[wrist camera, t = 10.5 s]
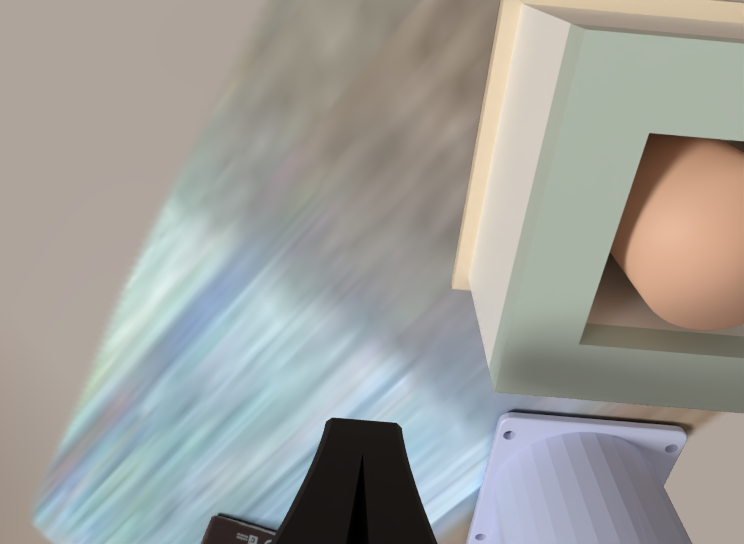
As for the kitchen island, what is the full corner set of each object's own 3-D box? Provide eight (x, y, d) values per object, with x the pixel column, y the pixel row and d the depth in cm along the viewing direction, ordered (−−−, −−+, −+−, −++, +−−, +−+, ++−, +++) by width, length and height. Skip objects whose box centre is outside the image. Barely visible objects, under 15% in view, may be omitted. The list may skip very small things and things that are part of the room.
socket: (716, 304, 21) (835, 434, 15) (451, 281, 21) (472, 404, 15) (852, 12, 16) (1105, 46, 10) (504, -19, 16) (565, -3, 10)
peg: (672, 230, 19) (778, 336, 14) (555, 221, 19) (617, 323, 14) (717, 111, 17) (861, 182, 12) (586, 101, 17) (672, 168, 12)
